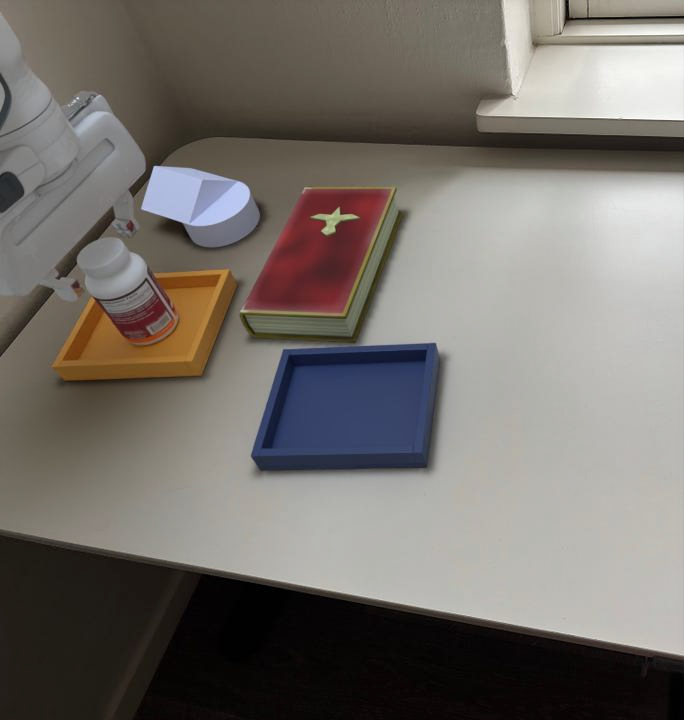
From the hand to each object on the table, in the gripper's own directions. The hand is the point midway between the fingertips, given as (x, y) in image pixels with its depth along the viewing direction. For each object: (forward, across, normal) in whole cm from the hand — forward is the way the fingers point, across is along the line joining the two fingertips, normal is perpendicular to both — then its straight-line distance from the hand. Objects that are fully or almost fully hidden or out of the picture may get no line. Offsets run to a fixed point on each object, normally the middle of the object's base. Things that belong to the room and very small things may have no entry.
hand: (103, 263), depth 72 cm
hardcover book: (+10, -12, +17) cm, 23 cm away
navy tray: (+10, +6, +28) cm, 30 cm away
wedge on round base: (+10, -19, -3) cm, 22 cm away
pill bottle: (+10, 0, 0) cm, 10 cm away
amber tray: (+10, 0, 0) cm, 10 cm away
